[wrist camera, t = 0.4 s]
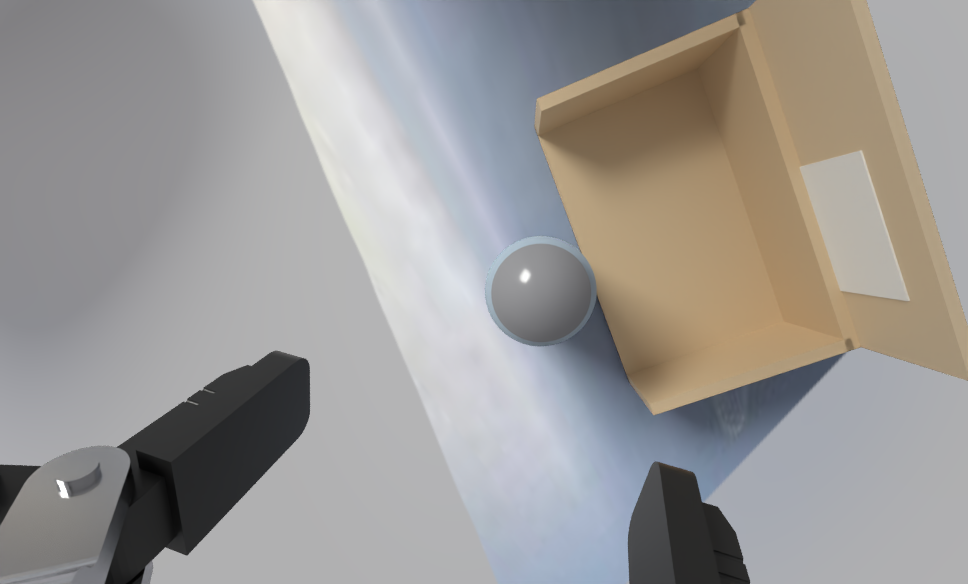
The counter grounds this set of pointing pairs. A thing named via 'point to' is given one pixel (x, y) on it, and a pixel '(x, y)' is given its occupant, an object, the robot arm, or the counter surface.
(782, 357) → the mailer
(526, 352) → the counter surface
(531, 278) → the canister
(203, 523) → the robot arm
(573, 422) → the counter surface
